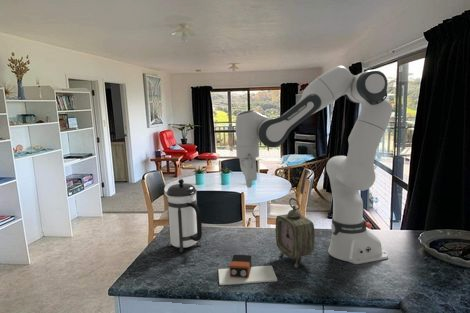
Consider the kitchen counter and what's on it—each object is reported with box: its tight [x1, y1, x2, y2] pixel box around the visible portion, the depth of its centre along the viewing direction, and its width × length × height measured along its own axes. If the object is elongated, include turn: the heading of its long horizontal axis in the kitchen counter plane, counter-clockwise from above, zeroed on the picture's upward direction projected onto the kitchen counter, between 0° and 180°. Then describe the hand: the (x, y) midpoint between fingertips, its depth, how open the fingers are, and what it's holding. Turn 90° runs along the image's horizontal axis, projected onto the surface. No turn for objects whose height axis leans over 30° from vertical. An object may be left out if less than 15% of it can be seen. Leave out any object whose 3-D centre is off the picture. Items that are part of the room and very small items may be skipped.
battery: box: [229, 254, 252, 278], centre depth 118 cm, size 4×7×10 cm
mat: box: [218, 265, 278, 286], centre depth 116 cm, size 20×10×1 cm, turn 95°
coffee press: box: [165, 178, 203, 254], centre depth 140 cm, size 17×16×30 cm
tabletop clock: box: [275, 197, 315, 269], centre depth 125 cm, size 14×9×25 cm, turn 22°
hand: (248, 186), depth 129 cm, fingers closed
